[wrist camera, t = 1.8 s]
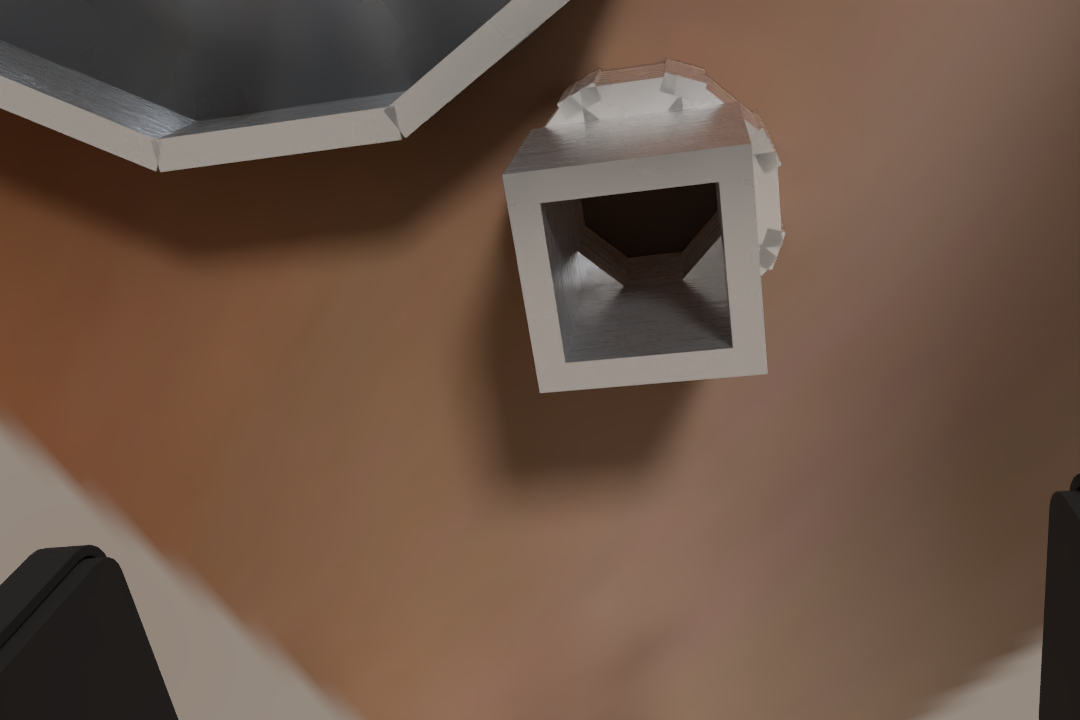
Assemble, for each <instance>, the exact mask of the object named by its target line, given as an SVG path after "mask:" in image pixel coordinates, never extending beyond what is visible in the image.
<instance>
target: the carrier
mask: <svg viewBox="0 0 1080 720" xmlns="http://www.w3.org/2000/svg"><path fill="white" fill-rule="evenodd" d="M568 1H570V0H0V108H1V109H4V110H6V111H9V112H11V113H14V114H16V115H19V116H21V117H23V118H26V119H28V120H31V121H33V122H36V123H38V124H41V125H43V126H46V127H48V128H50V129H53V130H55V131H58V132H60V133H63V134H65V135H68V136H70V137H73V138H75V139H77V140H80V141H82V142H85V143H87V144H90V145H92V146H95V147H97V148H100V149H102V150H104V151H107V152H109V153H112V154H114V155H117V156H119V157H122V158H124V159H127V160H129V161H131V162H134V163H136V164H139V165H141V166H144V167H146V168H149V169H151V170H154V171H158V170H160V172H165V171H173V170H180V169H188V168H195V167H203V166H210V165H218V164H225V163H233V162H240V161H247V160H255V159H262V158H270V157H277V156H285V155H292V154H300V153H307V152H315V151H322V150H330V149H337V148H344V147H352V146H359V145H367V144H374V143H382V142H389V141H397V140H402V139H403V138H404V137H405V138H406V137H408V136H409V135H410V134H411V133H412V132H413V131H415V130H416V129H417V128H418V127H419V126H421V125H422V124H423V123H424V122H425V121H427V120H428V119H429V118H430V117H431V116H433V115H434V114H435V113H436V112H437V111H438V110H440V109H441V108H442V107H443V106H444V105H446V104H447V103H448V102H449V101H450V100H452V99H453V98H454V97H455V96H456V95H458V94H459V93H460V92H461V91H462V90H464V89H465V88H466V87H467V86H468V85H469V84H471V83H472V82H473V81H474V80H475V79H477V78H478V77H479V76H480V75H481V74H483V73H484V72H485V71H486V70H487V69H489V68H490V67H491V66H492V65H493V64H495V63H496V62H497V61H498V60H499V59H500V58H502V57H503V56H505V55H506V54H507V53H509V52H510V51H511V50H513V49H514V48H516V47H517V46H518V45H520V44H521V43H522V42H523V41H525V40H526V39H527V38H528V37H529V36H530V35H531V34H532V33H533V32H534V31H535V30H536V29H537V28H538V27H539V26H540V25H541V24H543V23H544V22H545V21H546V20H547V19H548V18H549V17H551V16H552V15H553V14H554V13H555V12H556V11H558V10H559V9H560V8H561V7H562V6H564V5H565V4H566V3H567V2H568Z"/></svg>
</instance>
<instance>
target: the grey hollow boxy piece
mask: <svg viewBox="0 0 1080 720" xmlns="http://www.w3.org/2000/svg"><path fill="white" fill-rule="evenodd" d="M557 105H558V107H557V108H556V110H555V111H554V112H553V114H552V115H551V117H550V118H549V119H548V121H547V122H546V123H545V125H544V126H543V127H541V128H534V129H531V131H530V132H529V134H528V135H527V137H526V139H525V140H524V142H523V143H522V145H521V146H520V148H519V149H518V151H517V153H516V154H515V156H514V157H513V159H512V160H511V162H510V163H509V165H508V167H507V168H506V170H505V171H504V173H503V174H502V177H503V182H504V188H505V194H506V200H507V206H508V211H509V217H510V223H511V229H512V235H513V240H514V246H515V252H516V258H517V264H518V269H519V275H520V281H521V287H522V293H523V298H524V304H525V310H526V316H527V321H528V327H529V333H530V339H531V345H532V350H533V356H534V362H535V368H536V374H537V379H538V385H539V391H540V393H548V392H560V391H572V390H584V389H596V388H607V387H619V386H631V385H643V384H655V383H666V382H678V381H690V380H702V379H714V378H726V377H737V376H749V375H761V374H768V372H767V358H766V344H765V329H764V315H763V301H762V287H761V276H762V275H763V274H764V272H765V271H766V270H767V269H770V270H772V269H773V266H774V263H775V260H776V259H777V258H778V256H777V255H778V252H779V250H780V247H781V246H782V241H783V239H784V236H785V233H786V232H785V229H784V226H783V223H782V220H781V216H780V200H779V184H778V167H779V166H781V165H782V164H781V162H780V159H779V157H778V154H777V152H776V149H775V146H774V144H773V141H772V139H771V136H770V133H769V132H767V129H766V127H765V124H764V122H763V120H761V119H760V117H759V115H758V113H757V111H756V110H755V111H753V112H751V111H750V110H749V109H748V108H746V107H745V106H744V105H743V104H741V103H740V102H739V101H738V100H736V99H735V98H734V97H733V96H731V95H730V94H729V93H728V92H726V91H725V90H724V89H723V88H721V87H720V86H719V85H718V84H716V83H715V82H714V81H713V80H711V79H710V78H709V77H708V76H706V74H705V69H703V68H700V67H696V66H694V65H693V64H691V65H689V64H685V63H681V62H680V61H674V60H670V59H666V61H665V63H660V64H653V65H646V66H639V67H632V68H625V69H618V70H610V71H603V72H602V70H601V69H600V68H599V69H597V70H596V71H594V72H592V73H589V74H587V76H586V77H584V78H582V79H581V80H579V81H578V80H577V81H576V82H575V83H574V84H572V85H571V86H569V87H568V88H566V90H565V91H564V93H563V95H562V96H561V98H560V100H559V101H558V103H557ZM714 182H715V185H716V196H717V208H718V211H717V212H716V213H715V214H714V215H713V216H712V218H711V219H710V220H709V221H708V222H707V223H706V225H705V226H704V227H703V228H702V229H701V230H700V232H699V233H698V234H697V235H696V236H695V237H694V239H693V240H692V241H691V242H690V243H689V244H688V246H687V247H686V248H685V249H684V250H683V251H682V252H676V253H667V254H658V255H648V256H639V257H630V258H628V257H626V256H625V255H624V254H622V253H621V252H620V251H618V250H617V249H616V248H614V247H613V246H612V245H610V244H609V243H608V242H606V241H605V240H604V239H602V238H601V237H600V236H598V235H597V234H596V233H594V232H593V231H592V230H590V229H589V228H588V227H586V226H585V221H584V214H583V207H582V200H581V198H588V197H596V196H605V195H613V194H621V193H630V192H638V191H647V190H655V189H663V188H672V187H680V186H689V185H697V184H705V183H714Z"/></svg>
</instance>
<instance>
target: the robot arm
mask: <svg viewBox="0 0 1080 720" xmlns="http://www.w3.org/2000/svg"><path fill="white" fill-rule="evenodd" d="M0 720H178V717H177V715H176V712H175V709H174V707H173V704H172V702H171V699H170V696H169V694H168V691H167V688H166V686H165V683H164V680H163V678H162V675H161V672H160V670H159V667H158V664H157V662H156V659H155V657H154V654H153V651H152V649H151V646H150V644H149V641H148V638H147V636H146V633H145V630H144V627H143V625H142V622H141V619H140V617H139V614H138V612H137V609H136V606H135V604H134V601H133V598H132V596H131V593H130V590H129V588H128V585H127V583H126V580H125V577H124V574H123V572H122V570H121V568H120V566H119V564H118V563H117V562H116V561H115V560H114V559H112V558H109V557H106V555H105V553H104V552H103V551H102V550H100V548H98V547H96V546H93V545H84V546H69V547H56V548H45V549H40V550H37V551H36V552H34V553H33V554H31V555H30V556H29V557H28V558H27V559H26V560H25V561H24V562H23V563H22V564H21V565H20V566H19V567H18V568H17V569H16V570H15V571H14V572H13V573H12V574H11V575H10V576H9V577H8V578H7V579H6V580H5V581H4V582H3V583H2V584H1V585H0ZM1039 720H1080V474H1078V475H1076V476H1075V477H1074V478H1073V481H1072V483H1071V486H1070V491H1059V492H1055V493H1054V494H1053V495H1052V498H1051V502H1050V511H1049V530H1048V550H1047V569H1046V588H1045V607H1044V627H1043V646H1042V665H1041V685H1040V704H1039Z"/></svg>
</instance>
